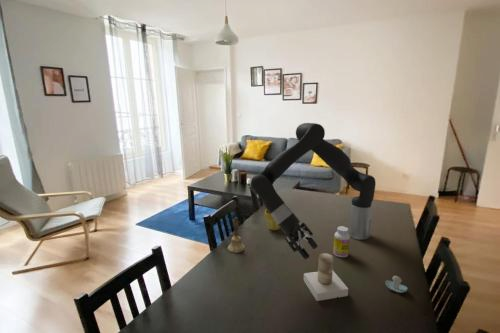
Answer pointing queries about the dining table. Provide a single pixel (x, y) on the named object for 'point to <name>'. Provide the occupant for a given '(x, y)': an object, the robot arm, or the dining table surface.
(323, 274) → the birch post
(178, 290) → the dining table surface
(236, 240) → the hand bell
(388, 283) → the pacifier
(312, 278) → the plinth
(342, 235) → the supplement bottle
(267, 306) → the dining table surface
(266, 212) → the plant pot
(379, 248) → the dining table surface
